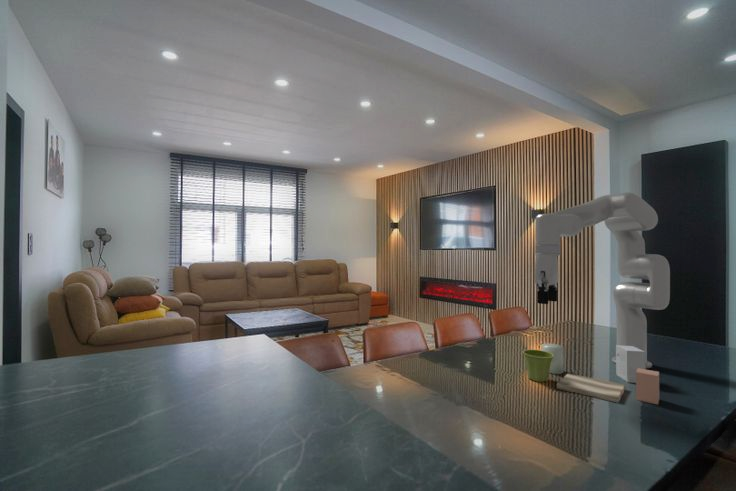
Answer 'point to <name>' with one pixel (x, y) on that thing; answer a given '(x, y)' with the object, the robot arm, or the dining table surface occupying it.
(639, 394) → the block
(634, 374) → the small box
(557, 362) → the pale rounded smooth block
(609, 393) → the board
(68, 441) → the dining table surface
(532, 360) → the plant pot
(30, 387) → the dining table surface
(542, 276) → the robot arm
